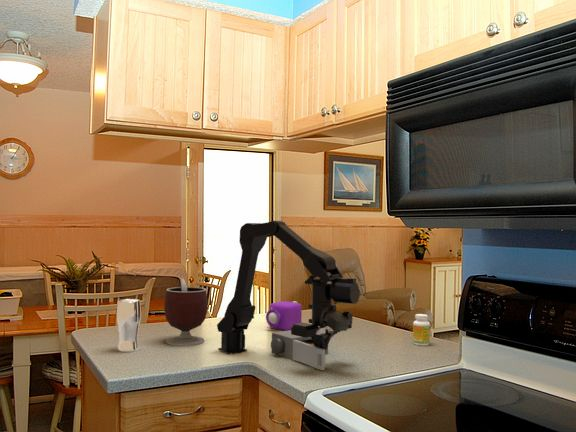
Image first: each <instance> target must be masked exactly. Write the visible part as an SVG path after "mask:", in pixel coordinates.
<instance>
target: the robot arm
mask: <svg viewBox="0 0 576 432" xmlns="http://www.w3.org/2000/svg"><path fill="white" fill-rule="evenodd" d="M270 237H275V238H276V239H277V240H279V241H280V242H281V243H282V244H283V245H285V246H286V247H287V248H288V249H289V250H290V251H292V253H294V254H295V255H297V256H298V258H300V260H301V261H302V264H303V266H304V267H305V268H306V270H307V271H308V272H309V273H310V275H309V277H308V278H307V279H306V280H305V281H304V284H305V285H311V303H308V309H311V318H308V323H306V322H302V321H301V323H297V324H293V325H292V327H291V334H292V335H296V336H300V337H311V338H312V340H313V342H314V344H315V346H316V347H319V348H322V349H325V353H326V350H327V347H328V348H329V343H330V341H331V339H332V338H333V337H334V336H335V335H337V334H338V333H340V332H344V331H345V332H346V331H347V330H349V329H352V327H353V312H351V311H350V310H345V311H343V312H342V311H341V312H338V310H337V306H336V304H334V303H340V304H341V303H342V304H350V305H351V304H352V305H356V304H357V303H358V302H359V300H360V296H361V295H360V294H361V290H360V287H359V284H358V283H357V278H355V277H351V278H350V277H349V278H348V277H344V276H343V274H342V273H341V271H340V269H339V268H338V267H337V263H336V259H335V258H334V257H333V256H332V255H330V254H328V253H327V252H324V251H323V250H320V249H318V248H315V247H313V246H312V245H311V244H310V243H308V242H307V240H305V239H303V238H302V237H301V236H300V235H299V234H297V233H296V232H295V231H294V230H292V228H291V227H289V226H288V225H287V224H286V223H285V222H284V221H283V220H271V221H268V222H263V223H260V222H257V223H256V222H246V223H244V224H243V225H241V227H240V230H239V244H240V245H239V246H240V247H241V257H240V261H239V266H238V267H239V268H238V272H237V278H236V285H235V289H234V294H233V297H232V299H231V300H230V301H229V303H228V304H227V306H226V310H225V312H224V316H223V318H221V320H219V322H218V323H217V324H216V327H217V332H219V333H221V336H220V337H221V340H220V341H221V343H220V344H221V346H220V347H218V350H219V351H221V352H224V353H225V354H236V353H242V352H247V349H246V334H245V330H248V327H249V325H250V323H251V322H252V320H253V319H255V316H254V315H255V314H254V313H255V311H256V305H253V304H252V301H251V296H252V295H251V294H252V289H253V284H254V280H255V275H256V274H255V273H256V269H257V262H258V257H259V253H260V252H261V250H262V249H264V246H265V244H266V242H267V239H268V238H270ZM333 302H334V303H333ZM326 354H327V353H326Z"/></svg>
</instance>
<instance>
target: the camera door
mask: <svg viewBox="0 0 576 432" xmlns="http://www.w3.org/2000/svg"><path fill="white" fill-rule="evenodd" d="M291 360H295V361H297V362H300V363H303V364H305V365H308V366H310V367H312V368H314V369H318V370H320V371H325V370H326V354H325V349H322V348H319V347H316V346H313V345H310V344H307V343H304V342H301V341H298V340H293V357H292V359H291Z"/></svg>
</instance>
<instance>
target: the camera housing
mask: <svg viewBox="0 0 576 432" xmlns="http://www.w3.org/2000/svg"><path fill="white" fill-rule="evenodd" d="M293 340H298V341H301V342H304V343H307V344H310V345H313V346H315V344H314V342H313V340H312V338H311V337H300V336H296V335H292V334H291V330H281V331H273V332H271V341H270V348H271V353H272V354H276V355H278V356H281V357H284V358H287V359H290V360H293V359H292V357H293ZM328 353H329V346H328V347H327V350H326V354H328Z"/></svg>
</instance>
